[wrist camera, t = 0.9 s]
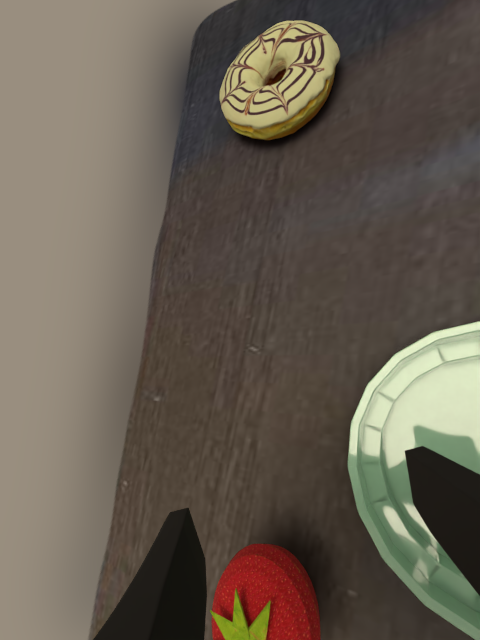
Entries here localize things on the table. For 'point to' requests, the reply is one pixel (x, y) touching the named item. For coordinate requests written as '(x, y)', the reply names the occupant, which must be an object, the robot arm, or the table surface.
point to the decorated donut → (264, 80)
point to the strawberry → (265, 598)
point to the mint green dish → (391, 467)
